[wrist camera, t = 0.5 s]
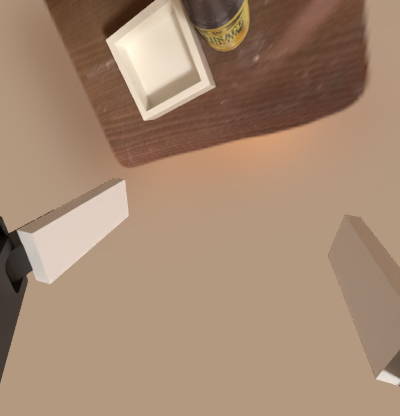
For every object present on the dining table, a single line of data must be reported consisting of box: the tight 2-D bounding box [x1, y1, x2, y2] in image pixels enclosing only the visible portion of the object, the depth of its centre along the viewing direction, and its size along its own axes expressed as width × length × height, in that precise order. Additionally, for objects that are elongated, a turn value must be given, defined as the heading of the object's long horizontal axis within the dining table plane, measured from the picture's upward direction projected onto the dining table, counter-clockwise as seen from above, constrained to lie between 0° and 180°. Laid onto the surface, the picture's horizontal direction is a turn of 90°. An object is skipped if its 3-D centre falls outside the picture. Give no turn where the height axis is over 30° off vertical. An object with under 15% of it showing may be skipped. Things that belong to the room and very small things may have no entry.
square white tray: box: [106, 0, 216, 121], centre depth 33 cm, size 12×12×4 cm
